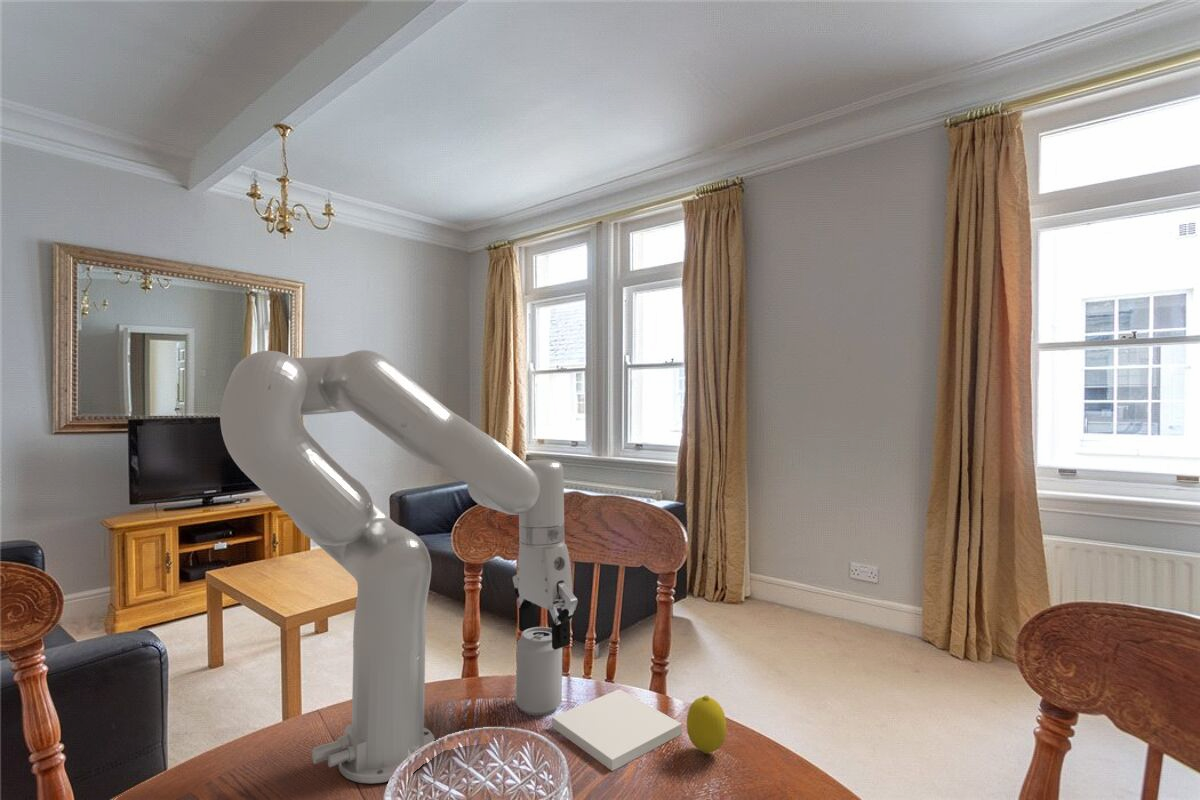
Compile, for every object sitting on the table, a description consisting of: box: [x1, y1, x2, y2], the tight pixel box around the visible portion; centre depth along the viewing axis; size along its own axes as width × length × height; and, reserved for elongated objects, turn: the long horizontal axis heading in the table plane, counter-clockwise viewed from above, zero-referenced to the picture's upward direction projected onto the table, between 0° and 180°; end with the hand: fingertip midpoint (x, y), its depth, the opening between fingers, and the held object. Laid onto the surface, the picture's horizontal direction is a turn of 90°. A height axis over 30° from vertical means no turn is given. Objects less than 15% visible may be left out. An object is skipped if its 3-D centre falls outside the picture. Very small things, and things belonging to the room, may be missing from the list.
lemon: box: [686, 695, 727, 755], centre depth 80 cm, size 6×6×8 cm
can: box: [515, 626, 563, 716], centre depth 92 cm, size 8×8×12 cm
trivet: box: [551, 688, 683, 772], centre depth 85 cm, size 14×14×2 cm
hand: (543, 637), depth 93 cm, fingers open, 9 cm apart
